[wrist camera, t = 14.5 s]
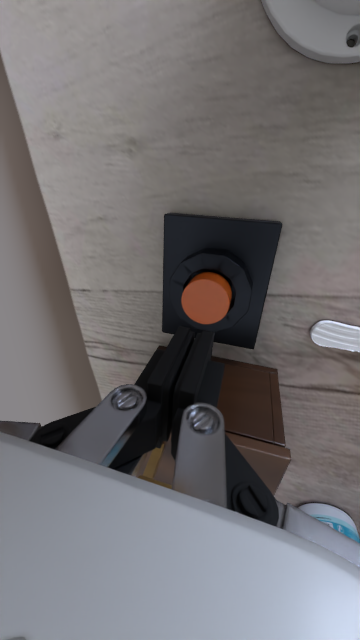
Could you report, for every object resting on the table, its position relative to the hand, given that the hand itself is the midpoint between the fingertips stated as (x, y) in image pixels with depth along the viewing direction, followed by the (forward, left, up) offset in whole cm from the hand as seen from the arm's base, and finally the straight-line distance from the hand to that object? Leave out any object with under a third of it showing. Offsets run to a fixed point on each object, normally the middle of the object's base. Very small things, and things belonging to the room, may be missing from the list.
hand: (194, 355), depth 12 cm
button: (0, -1, -9) cm, 9 cm away
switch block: (0, -1, -12) cm, 12 cm away
